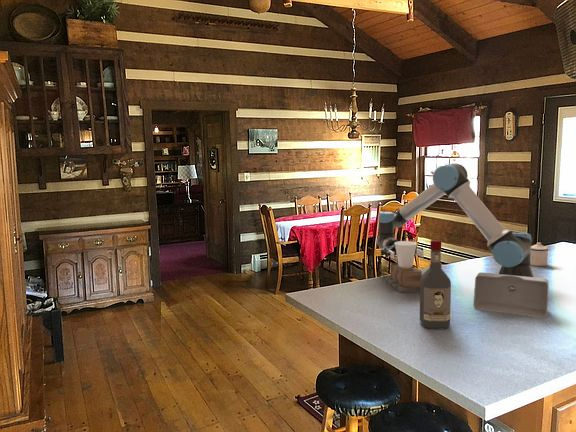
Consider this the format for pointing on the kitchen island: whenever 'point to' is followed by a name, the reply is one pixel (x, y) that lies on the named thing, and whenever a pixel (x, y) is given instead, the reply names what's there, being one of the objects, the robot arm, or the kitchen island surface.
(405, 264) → the cup
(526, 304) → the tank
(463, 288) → the kitchen island surface
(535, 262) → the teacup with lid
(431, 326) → the liquor
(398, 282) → the brown rectangular block
